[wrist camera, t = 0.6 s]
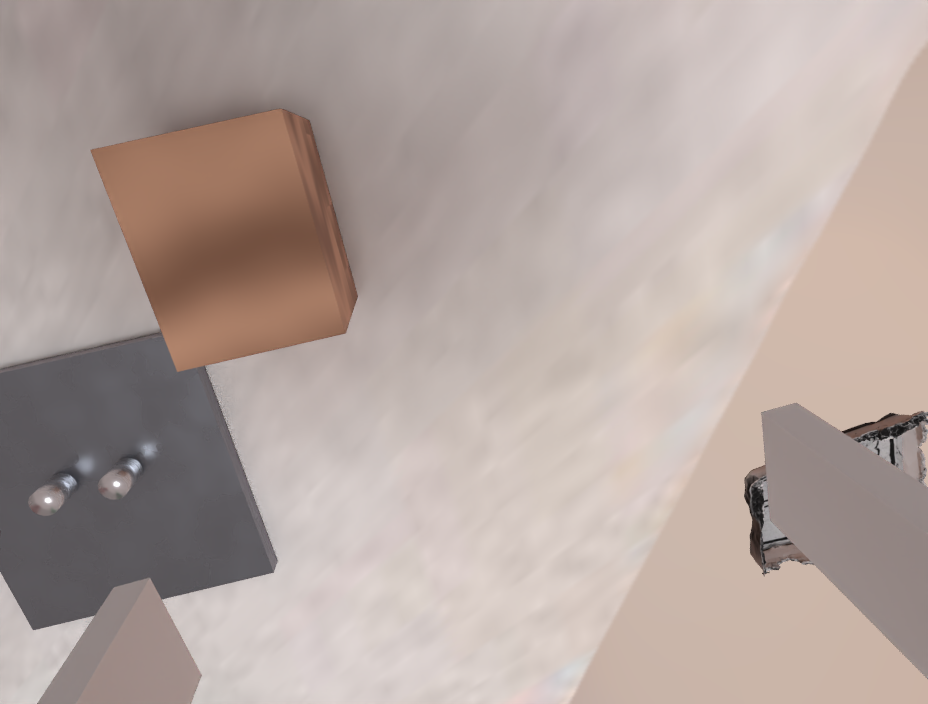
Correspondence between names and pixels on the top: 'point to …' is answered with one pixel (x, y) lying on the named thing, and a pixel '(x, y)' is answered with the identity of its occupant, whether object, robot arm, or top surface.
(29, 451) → the boss plate
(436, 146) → the top surface
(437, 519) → the top surface
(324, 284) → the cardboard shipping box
